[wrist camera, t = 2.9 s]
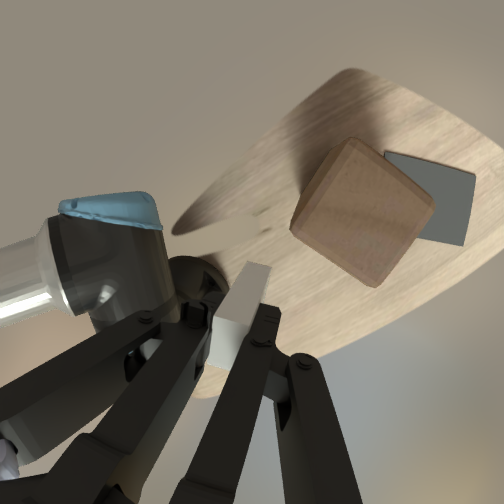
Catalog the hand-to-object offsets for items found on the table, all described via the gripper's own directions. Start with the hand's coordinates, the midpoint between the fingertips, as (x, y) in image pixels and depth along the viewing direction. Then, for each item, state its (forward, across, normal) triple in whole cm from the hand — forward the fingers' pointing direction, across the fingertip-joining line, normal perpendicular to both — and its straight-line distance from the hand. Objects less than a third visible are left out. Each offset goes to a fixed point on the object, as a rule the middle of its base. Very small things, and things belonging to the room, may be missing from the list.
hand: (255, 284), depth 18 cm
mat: (+28, +21, +7) cm, 35 cm away
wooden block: (+27, +7, +4) cm, 29 cm away
